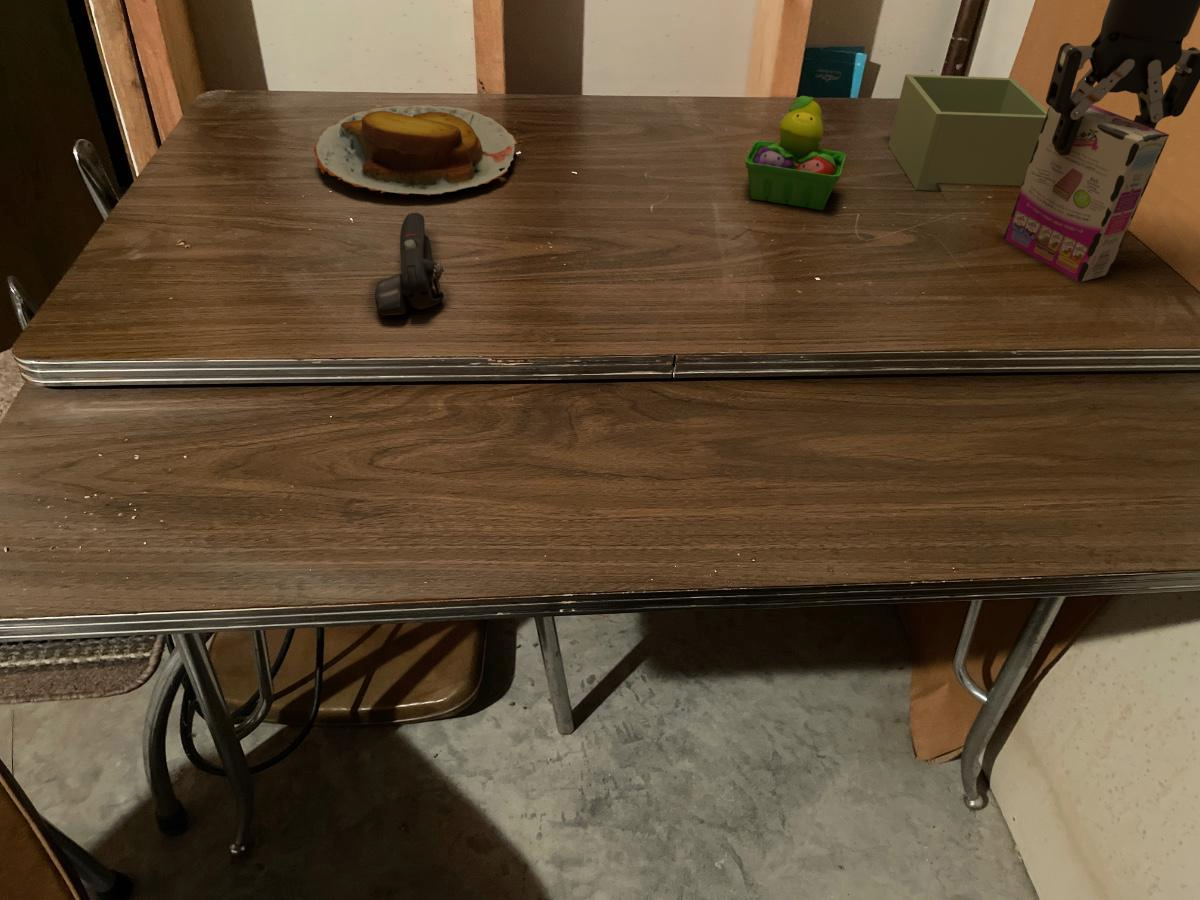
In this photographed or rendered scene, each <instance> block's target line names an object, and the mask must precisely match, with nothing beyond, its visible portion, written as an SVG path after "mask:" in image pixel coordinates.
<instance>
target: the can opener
mask: <svg viewBox="0 0 1200 900" xmlns="http://www.w3.org/2000/svg"><path fill="white" fill-rule="evenodd" d="M425 224H426V223H425V217H424V215H423V214H421V213H419V212H411V213H409V214H407V215H406V216H405V218H404V219H403V221H402V225H401V228H400V235H399V252H400V260H401V261H400V265H401V266H400V267H401V273H396V274H394V275H391V276H388V277H386V278H383V279H381V280H379V281H378V282H377V284H376V286H375V290H374V303H375V305H376V308H377V311H378V312H379V314H380V315H381V316H390V315H392V316H393V315H395V316H396V315H405V314H406V313H407V312H408V309H409V304H410V305H411V307H412V308H414V309H417V310H425V309H428V308H431V307H434V306H435V305H437V304H439V303H440V302H442V301H443V300H444V298H445V295H444V293H443V292H442V289H441V285H440V279H441V277H442V275H443V273H444V272H446V269H445V268H443V260H441V261H439V263H438V262H437V261H438V260H437V259H435V260H432V257H433V256H432V255H433V254H432V245H431V240H430V237H429V236H428V235H426V234H425V232H426V231H425V230H426V229H425V228H426V227H425Z"/></svg>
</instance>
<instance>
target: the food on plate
mask: <svg viewBox="0 0 1200 900" xmlns="http://www.w3.org/2000/svg"><path fill="white" fill-rule="evenodd" d="M516 145H518V140H516V138H515V136H514V135H513V134H512V133H510V131H508V130H507V129H506V128H505V127H504V126H502V125H501V124H500V123H499V122H498V121H496V120H495V119H493V118H492V117H490V116H485V115H483V114H481V113H479V112H476V111H472V110H469V109H466V108H461V107H455V106H444V105H429V104H411V105H409V104H408V105H401V104H399V105H393V106H386V107H385V106H384V107H373V108H370V109H368V110H361V111H354V112H353V114H351V115H348V116H344V117H343V118H340V119H339V121H338V123H334V124H332V125H329V126H328V127H326V129H325V130H324V131H322V133H321V135H320V136H319V137H318V139H317V142H316V143H315V145H314V147H313V152H314V156H315V157H316V165H317V167H318V168H319V169H320V172H321V173H322V174H325V172H327V173H328V175H329V176H332V177H337V180H338V181H340V180H342V181H343V182H345V183H348V184H349V185H350V184H351V185H352V186H353V187H357V188H367V189H368V190H370V191H375V192H376V191H380V194H383V193H386V192H387V193H395V194H401V195H409V194H415V195H416V194H417V195H426V196H431V195H442V194H444V193H452V192H457V191H458V190H462V189H463V190H464V189H467V188H472V187H478V186H480V185H482V184H489V183H491V181H493V180H496V179H498V177H502V176H503V175H504V174H506V173H507V172H509V170H508V168H509V167H510V166H511V162H512V161H513V160H514V155H515V146H516ZM518 165H519V166H520V163H518ZM500 169H502V170H500ZM409 187H412V188H409ZM413 188H414V189H413ZM422 189H424V190H422Z"/></svg>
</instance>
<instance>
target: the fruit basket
mask: <svg viewBox="0 0 1200 900" xmlns="http://www.w3.org/2000/svg"><path fill="white" fill-rule="evenodd" d="M788 110H789V111H788V113H787V114H786V115H785V116H784V117H782V120H781V121H780V123H779V129H780V130H779V135H780V137H779V139H780V142H775V141H765V140H757V141H755V142H753V144H752V146H751V148H750V149H749V152H748V154H747V155H746V157H745V159H744V161H745V168H746V169H747V177H748V178H747V179H748V186H749V187H748V188H749V195H750V199H751V200H756V201H765V202H766V201H767V202H769V203H774V204H781V205H782V204H783V205H785V204H787V205H789V206H793V207H798V208H808V209H811V210H819V211H823V210H824V208H825V207H826V205H827V202H828V200H829V198H830V197H831V193H832V191H833V189H834V187H835V185H836V183H837V182H838V181H839V179H840V177H841V176H842V170H843V166H844V163H845V161H846V159H847V155H846V153H844V152H842V151H837V150H836V151H835V150H831V149H830V150H829V149H823V148H819V145H820V144H819V143H820V142H821V141H822V139H823V136H824V124H823V120H822V117H823V112H822V111H823V110H822V108H821V106H820V104H819V103H818V102H816V101H815V97H813V96H808V95H800V96H798V97H797V98H796V99H794V102H793V104H792V106H791V107H789V109H788Z"/></svg>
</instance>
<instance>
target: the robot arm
mask: <svg viewBox="0 0 1200 900" xmlns="http://www.w3.org/2000/svg"><path fill="white" fill-rule="evenodd" d="M1199 10H1200V0H1109V2H1108V5H1107V8H1106V10H1105V12H1104V16H1103V19H1102V22H1101V27H1100V32H1099V34H1098V35H1097V37H1096V38H1095V39H1094V41H1092V43H1091V44H1090V45H1073V44H1071V43H1070V42H1065V43H1063V44H1062V45H1060V47H1059V49H1058V52H1057V57H1056V60H1055V64H1054V67H1053V68H1054V69H1053V72H1052V75H1051V79H1050V82H1049V85H1048V90H1047V93H1046V97H1045V103H1046V104H1047V105H1048V107H1049V106H1051V107H1052V108H1053V109H1054V110H1055V111H1056V112H1057V113H1061V116H1060V119H1059V122H1058V125H1057V127H1056V130H1055V133H1054V136H1053V138H1052V144H1053V145H1054V146H1055V151H1056V152H1057V153H1058V154H1059V155H1066V156H1068V155H1069V154H1070V151H1071V149H1072V146H1073V143H1074V141H1075V138H1076V135H1077V133H1078V130H1079V127H1080V125H1081V122H1082V121H1081V120H1080V119H1079V118H1080V117H1081V116H1082V115H1083V114H1084V113H1085V112H1086V111H1087V110H1088V109H1089V108H1090V107H1091V106H1092V105H1094V104H1096V103H1099V102H1100V101H1102V100H1103V98H1104V97H1105V96H1106V95H1107V94H1108V93H1114V94H1115V93H1116V94H1117V93H1121V92H1128V93H1130V94H1136V96H1137V101H1138V109H1139V113H1140V114H1136V115H1135V116H1134V119H1133V121H1136V122H1138V123H1141V124H1143V125H1146V126H1148V127H1151V128H1153V129H1156V127H1157V125H1158V123H1159V122H1161V121H1162V120H1163V119H1164V118H1168V117H1174V118H1178V117H1180V116H1181V115H1182V114H1183V113H1184V111H1185V109H1186V107H1187V106H1188V104H1189V101H1190V100H1191V98H1192V96H1193V95H1194V92H1195V90H1196V88H1197V86H1198V84H1199V82H1200V49H1198V48H1197V47H1194V46H1192V47H1189V48H1188V49H1184V48H1183V41H1184V39H1185V38H1186V37H1188V35H1189V33H1190V31H1191V30H1192V27H1193V24H1194V22H1195V19H1196V17H1197V15H1198V12H1199ZM1087 61H1089V62H1090V65H1091V68H1089V70H1087V72H1086V73H1085V74H1084V75H1083V76H1082V77H1081V78H1080V79H1079V81H1078V82H1077V83H1076V79H1077V75H1078V72H1079V71H1080V70H1082V69H1084V65H1085V63H1086V62H1087ZM1173 67H1174V70H1175V72H1174V73H1173V75H1172V77H1171V79H1170V81H1169V83H1168V85H1167V88H1166V89H1165V92H1164V86H1163V76H1164V75H1165V74H1166V73H1168V72H1169V70H1171V69H1172V68H1173ZM1075 83H1076V87H1075V88H1074V85H1075ZM1096 83H1097V84H1096ZM1095 84H1096V85H1095ZM1094 85H1095V86H1094Z"/></svg>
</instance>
